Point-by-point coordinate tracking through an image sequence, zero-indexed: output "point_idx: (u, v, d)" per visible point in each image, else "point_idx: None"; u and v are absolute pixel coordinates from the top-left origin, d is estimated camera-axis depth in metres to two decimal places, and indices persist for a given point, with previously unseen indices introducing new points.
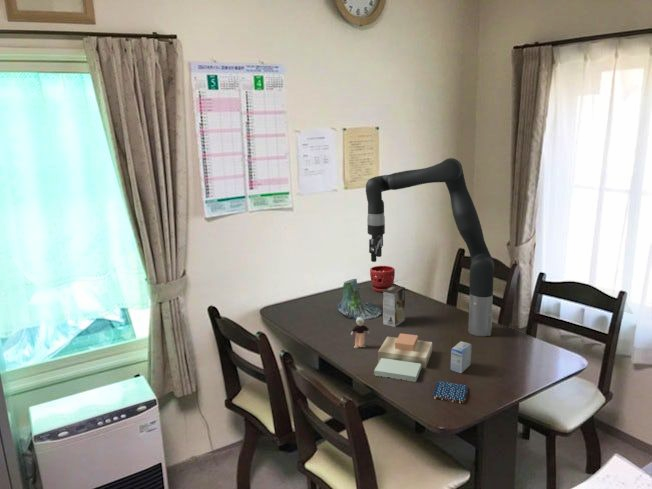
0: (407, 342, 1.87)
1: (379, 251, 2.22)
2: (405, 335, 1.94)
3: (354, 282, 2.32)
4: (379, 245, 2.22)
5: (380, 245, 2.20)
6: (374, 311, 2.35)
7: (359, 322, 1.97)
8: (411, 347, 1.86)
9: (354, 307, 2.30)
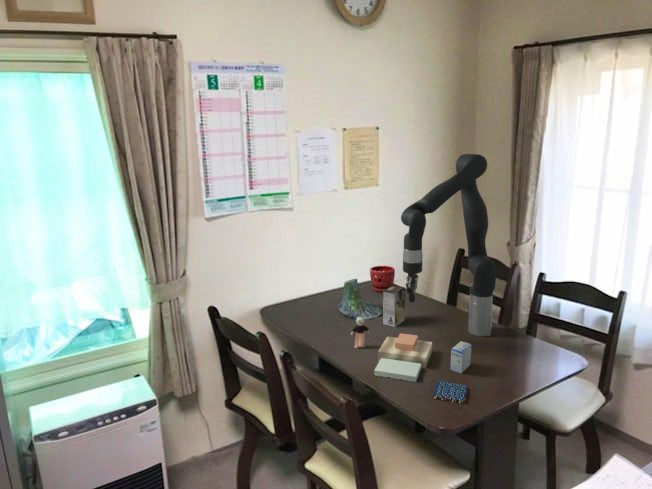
0: (407, 342, 1.87)
1: None
2: (405, 335, 1.94)
3: (355, 282, 2.32)
4: None
5: None
6: (375, 311, 2.35)
7: (359, 322, 1.97)
8: (411, 347, 1.86)
9: (354, 307, 2.30)
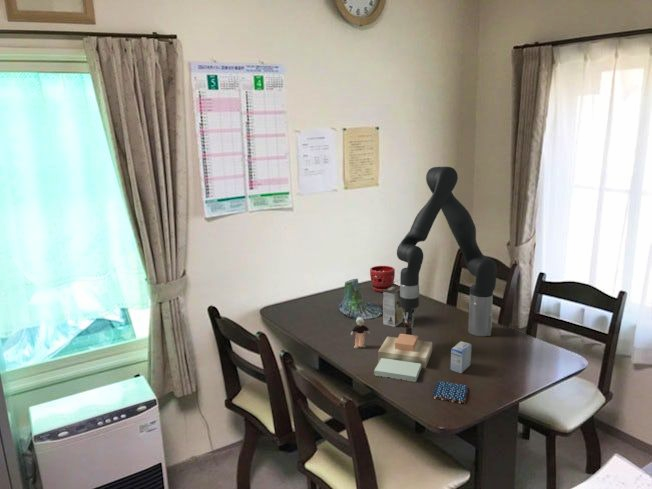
0: (407, 343, 1.87)
1: None
2: (405, 335, 1.94)
3: (355, 282, 2.32)
4: None
5: None
6: (375, 311, 2.35)
7: (359, 322, 1.97)
8: (411, 347, 1.86)
9: (355, 307, 2.30)
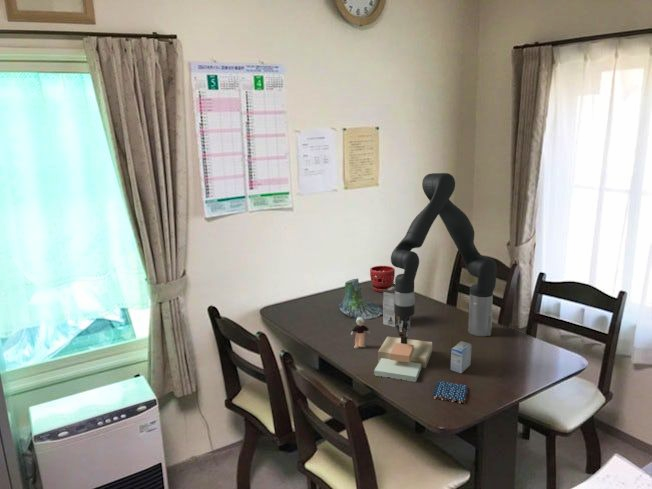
0: (403, 353, 1.79)
1: None
2: (400, 345, 1.86)
3: (355, 282, 2.32)
4: None
5: None
6: (375, 311, 2.35)
7: (359, 322, 1.97)
8: (407, 358, 1.78)
9: (355, 307, 2.30)
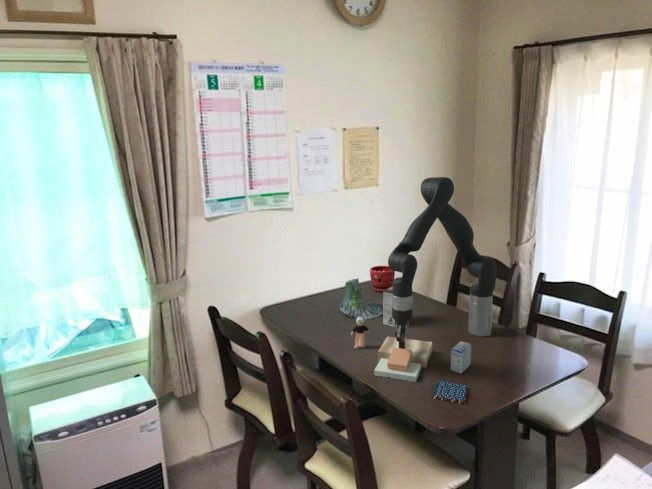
0: (400, 362, 1.76)
1: None
2: (398, 350, 1.82)
3: (356, 282, 2.33)
4: None
5: None
6: (376, 311, 2.35)
7: (359, 322, 1.97)
8: (404, 368, 1.75)
9: (355, 307, 2.30)
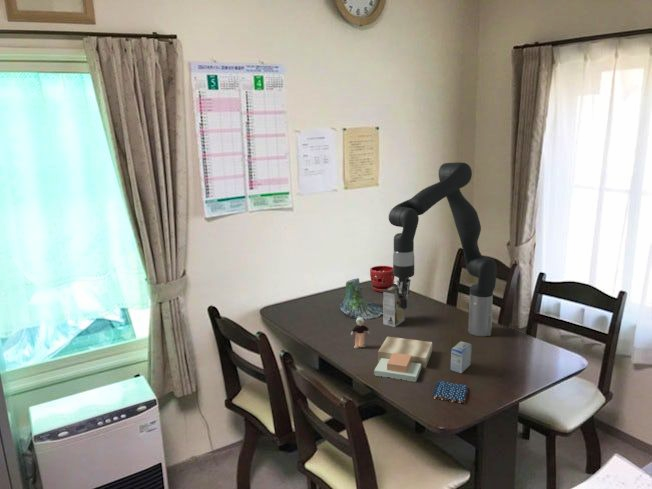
0: (400, 363, 1.76)
1: None
2: (398, 355, 1.82)
3: (356, 282, 2.33)
4: None
5: None
6: (376, 311, 2.35)
7: (359, 322, 1.97)
8: (404, 368, 1.74)
9: (355, 306, 2.31)
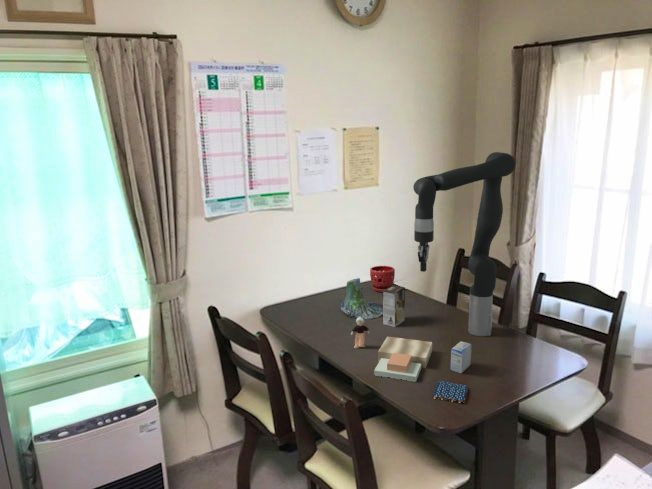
0: (400, 363, 1.76)
1: None
2: (398, 355, 1.82)
3: (357, 281, 2.33)
4: None
5: None
6: (377, 311, 2.35)
7: (359, 322, 1.97)
8: (404, 368, 1.74)
9: (356, 306, 2.31)
